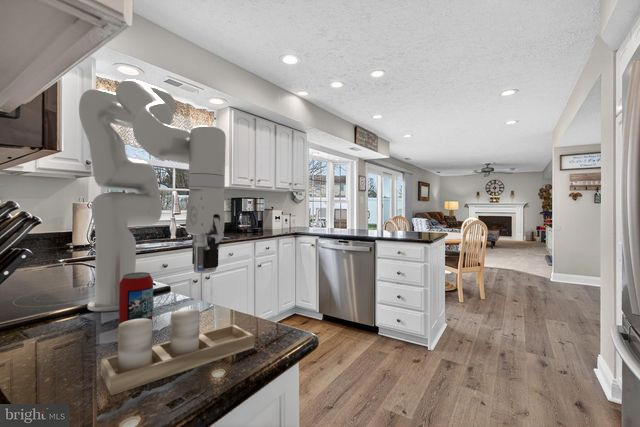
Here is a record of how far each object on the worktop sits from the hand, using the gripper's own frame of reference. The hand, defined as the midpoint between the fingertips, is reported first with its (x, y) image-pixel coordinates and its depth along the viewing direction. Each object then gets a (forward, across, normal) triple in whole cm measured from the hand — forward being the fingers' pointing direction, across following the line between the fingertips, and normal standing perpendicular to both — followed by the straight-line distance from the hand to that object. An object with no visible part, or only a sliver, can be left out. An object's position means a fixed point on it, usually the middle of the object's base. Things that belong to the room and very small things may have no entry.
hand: (205, 265), depth 69 cm
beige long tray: (+15, +10, -8) cm, 20 cm away
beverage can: (+15, -14, -10) cm, 23 cm away
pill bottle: (+2, 0, 0) cm, 2 cm away
